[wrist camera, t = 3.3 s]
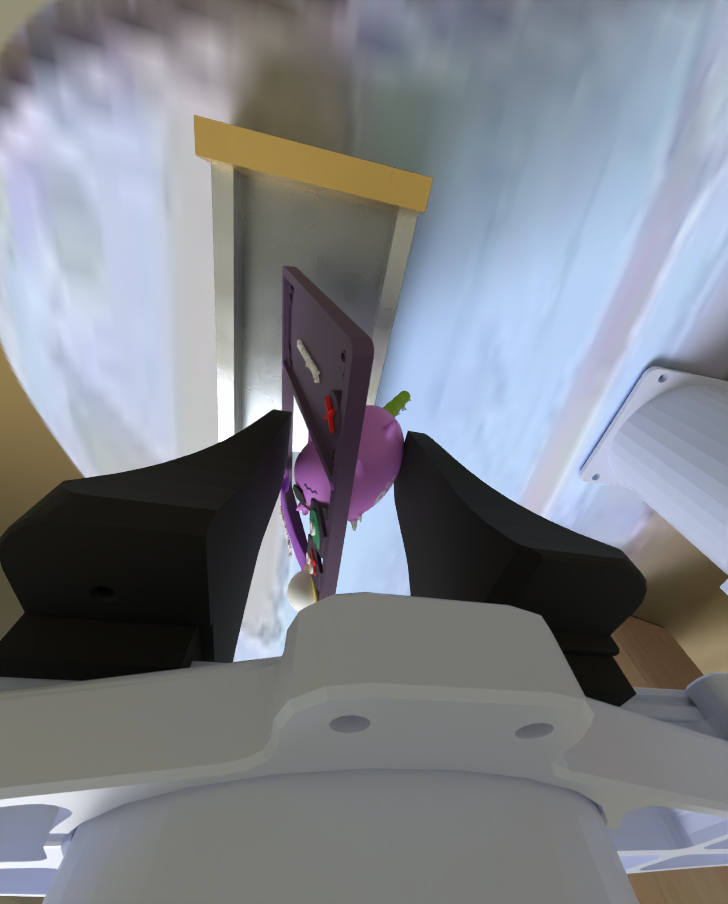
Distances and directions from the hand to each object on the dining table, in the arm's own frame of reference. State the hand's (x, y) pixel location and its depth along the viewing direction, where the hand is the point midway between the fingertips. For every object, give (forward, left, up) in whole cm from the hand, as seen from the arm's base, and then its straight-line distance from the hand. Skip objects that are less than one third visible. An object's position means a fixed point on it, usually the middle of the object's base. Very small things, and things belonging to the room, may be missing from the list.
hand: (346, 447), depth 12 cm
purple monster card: (0, -1, -2) cm, 2 cm away
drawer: (+2, -1, -9) cm, 9 cm away
